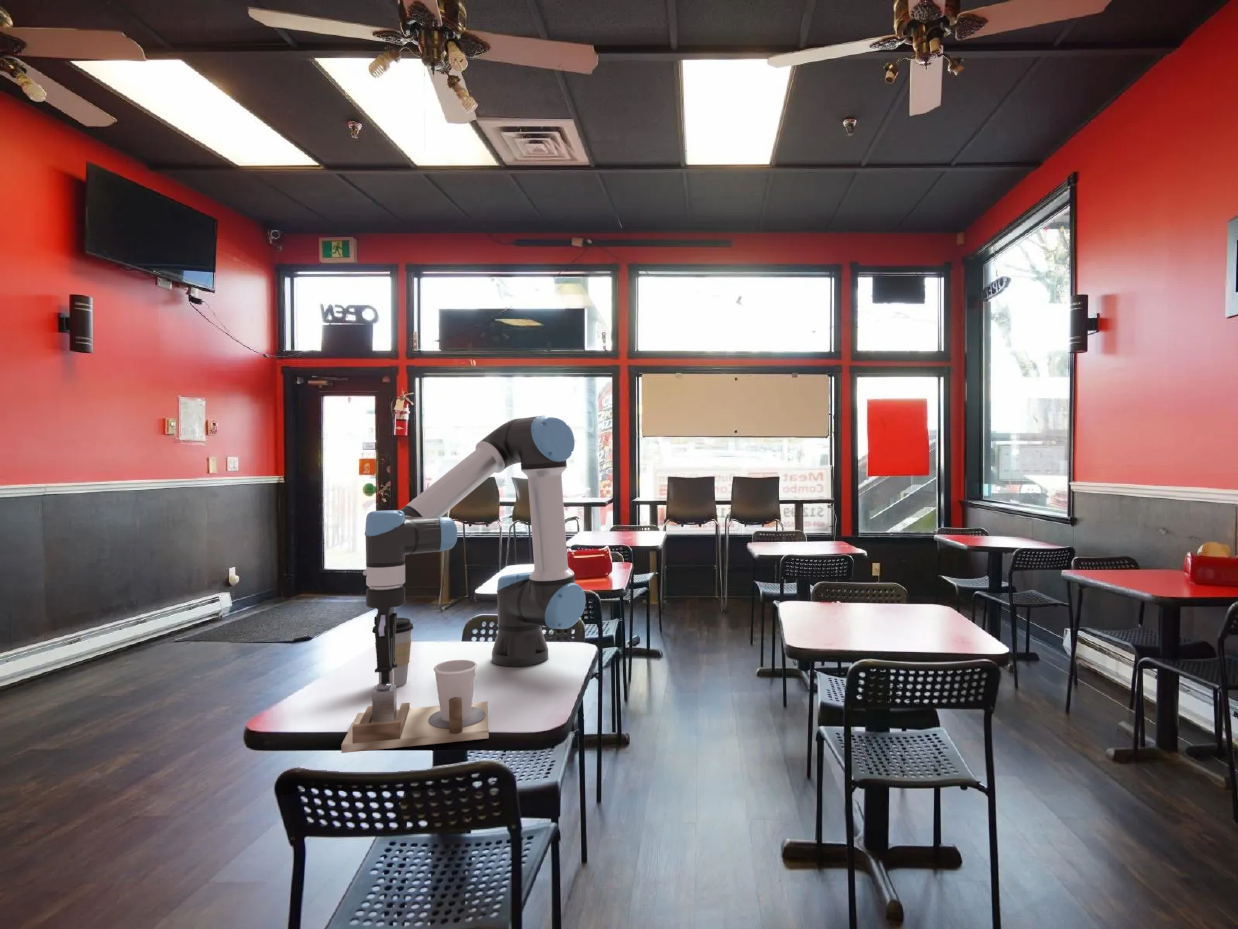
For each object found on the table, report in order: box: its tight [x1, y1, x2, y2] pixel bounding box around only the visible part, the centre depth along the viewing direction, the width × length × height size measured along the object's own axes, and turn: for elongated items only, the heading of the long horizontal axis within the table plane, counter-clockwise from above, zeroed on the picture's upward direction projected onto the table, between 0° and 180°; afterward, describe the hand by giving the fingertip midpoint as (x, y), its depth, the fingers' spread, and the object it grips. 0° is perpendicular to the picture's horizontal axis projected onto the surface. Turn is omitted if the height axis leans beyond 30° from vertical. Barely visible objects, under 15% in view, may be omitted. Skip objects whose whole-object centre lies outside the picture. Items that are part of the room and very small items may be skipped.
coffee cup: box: [371, 617, 414, 688], centre depth 155 cm, size 9×9×15 cm
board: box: [340, 697, 490, 754], centre depth 126 cm, size 26×16×8 cm, turn 102°
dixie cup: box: [433, 659, 478, 721], centre depth 128 cm, size 8×8×10 cm
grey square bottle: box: [371, 682, 398, 723], centre depth 127 cm, size 4×4×7 cm
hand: (386, 702), depth 131 cm, fingers closed
